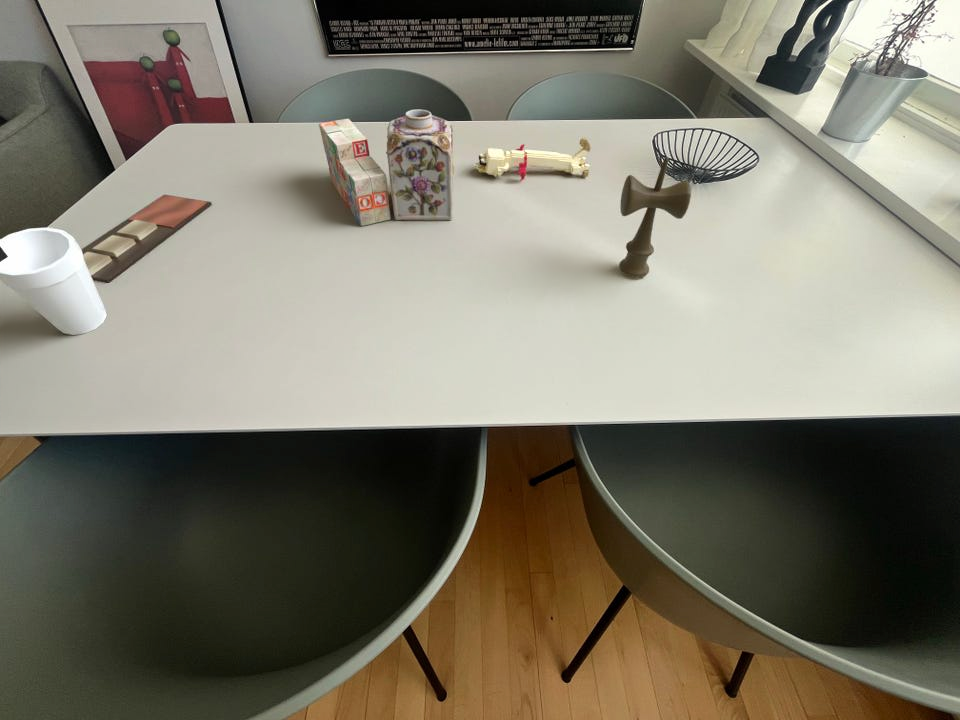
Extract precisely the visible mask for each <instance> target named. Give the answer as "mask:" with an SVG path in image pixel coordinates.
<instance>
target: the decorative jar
mask: <svg viewBox="0 0 960 720" xmlns="http://www.w3.org/2000/svg"><path fill="white" fill-rule="evenodd" d="M386 129H387V134H386V139H387V141H386V152H385V153H386V158H387V166H388V176H389V184H390V193H391V194H390V195H391V202H392V209H393V216H394V220H395V221H452V220H453V219H454V218H453V217H454V214H453V213H454V173H455V172H454V170H455V166H454V155H453V153H454V152H453V145H454V144H453V143H454V142H453V141H454V137H453V132H454V130H453V125H452V123H451V122H450V121H448V120H446V119H444V118H442V117H438V116H437V115H432V112H430V111H429V110H427V109H419V108H418V109H410V110H408V111H405V115H404V116H401V117H397V118H395V119H392V120H390V121H389V124H388V126H387V128H386Z"/></svg>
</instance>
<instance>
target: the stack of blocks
mask: <svg viewBox="0 0 960 720" xmlns="http://www.w3.org/2000/svg"><path fill="white" fill-rule="evenodd" d="M318 127H319V131H320V135H321V140H322V145H323V149H324V153H325V156H326V161H327V165H328V171H329V175H330V179H331V182H332V184H333V185H334V187H335V189H336V191H337V192H338V194H339V196H340V197H341V198H342V199H343V201H344V202H345V204H346V205H347V206H348V208H349V209H350V211H351V213H352V215H353V216H354V218H355V219H356V220H357V222H358V223H359V225H360V226H361V227H364V226H369V225H372V224H375V223H380V222H385V221H388V220H391V211H390V210H391V209H390V202H389V193H388V192H389V191H388V189H389V187H388V179H387V174H386V172H385V171H384V170H383V169H382V168H381V167H380V165H379V164H378V163H377V162H376V160H375V159H373V157H372V156H371V155H370V154H371V153H370V149H369V142H368V138H367V137H366V136H365V135H364V134H363V133H361V131H360V130H359V129H358V128H357V127H356V125H355V124H353V122H352V121H351V119H350V118H344V119H343V118H342V119H337V120H331V121H325V122H324V121H323V122H319V123H318Z"/></svg>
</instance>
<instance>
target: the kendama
mask: <svg viewBox="0 0 960 720" xmlns="http://www.w3.org/2000/svg"><path fill="white" fill-rule="evenodd" d="M668 165H669V156H665V157H664V159H663V161H662V163H661V167H660V170H659V173H658V176H657V179H656V181H655V185H654V187H650V186H646V184H645V185H644V184H643V183H642V182H641V181H640V180H639V179H637V178H636V177H635V176H634V175H632V174H629V175H628V176H626V179H625V180H624V183H623V187H622V190H621V196H620V205H619V206H620V214H621V217H627V216H630V215H632V214H634V213H636V212H638V211H639V210H642V209H646V210H645V213H644V216H643V217H642V220H641V222H640V224H639V227H638V229H637V231H636V233H635V235H634V237H633V238H632V240H629V241H628V242H626V245H625V249H626V251H627V253H626V255H625V256H624V258H622V259H621V260H620V261H619V263H618V268H619V271H620V272H621V273H622V274H623V275H625V276H627V277H631V278H643V277H646V276H647V275H648V274H649V273H650V266H649V265H648V263H647V262H648V259H649V257H650V256H652V255H653V254H654V252H655V248H654V245H652V233H653V227H654V221H655V216H656V211H657V209H659V210H662V211H665V212H666V213H668V214H669V215H671V216H672V217H674V218H675V219H678V220H679V219H683V218H684V216H685V215H686V213H687V211H688V209H689V206H690V204H691V203H690V202H691V197H692V186H691V183H690V181H688V180H683V181H680V182H677V183H675V184H673V185H670V186H667V187H663V183H664V180H665V176H666V172H667V169H668Z"/></svg>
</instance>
